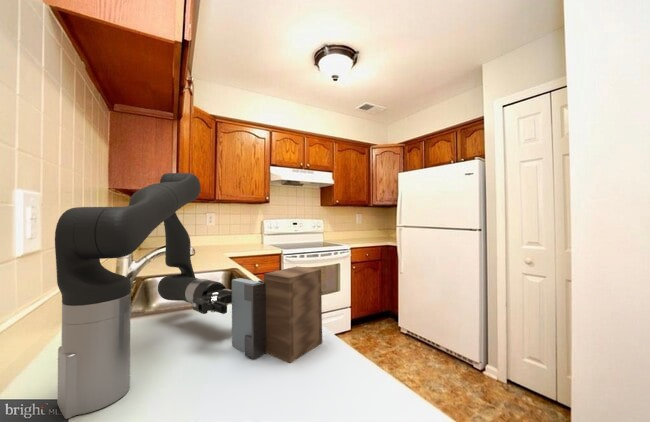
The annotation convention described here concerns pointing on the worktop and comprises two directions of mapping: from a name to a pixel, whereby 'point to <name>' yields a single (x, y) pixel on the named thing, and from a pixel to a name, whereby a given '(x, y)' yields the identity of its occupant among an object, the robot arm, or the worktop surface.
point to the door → (241, 313)
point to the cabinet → (293, 312)
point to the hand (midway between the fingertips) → (241, 304)
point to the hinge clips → (256, 320)
